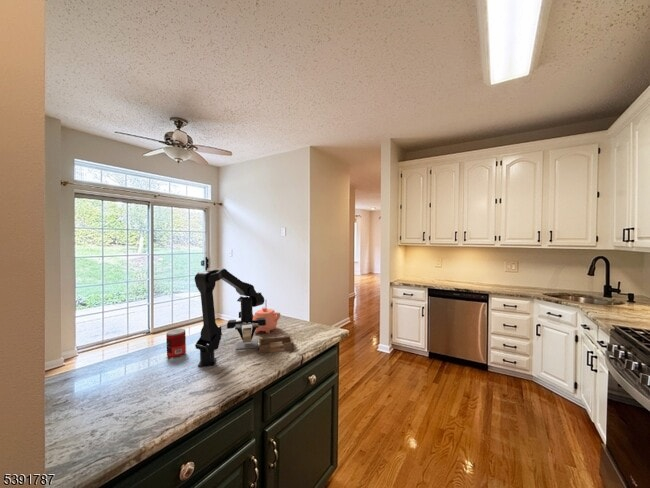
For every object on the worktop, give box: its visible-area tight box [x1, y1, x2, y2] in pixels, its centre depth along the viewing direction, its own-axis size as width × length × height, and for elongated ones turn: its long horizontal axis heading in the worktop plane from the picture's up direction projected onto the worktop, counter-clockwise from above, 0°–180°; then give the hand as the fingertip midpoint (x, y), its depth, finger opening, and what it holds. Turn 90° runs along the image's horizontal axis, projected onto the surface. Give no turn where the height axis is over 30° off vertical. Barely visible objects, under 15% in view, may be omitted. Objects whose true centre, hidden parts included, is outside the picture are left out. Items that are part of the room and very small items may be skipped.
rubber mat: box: [235, 339, 259, 351], centre depth 138 cm, size 10×10×1 cm
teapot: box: [251, 307, 281, 334], centre depth 161 cm, size 16×17×14 cm
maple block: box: [242, 327, 252, 343], centre depth 138 cm, size 4×4×6 cm
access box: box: [258, 335, 295, 355], centre depth 134 cm, size 10×16×4 cm, turn 104°
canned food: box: [165, 328, 187, 359], centre depth 128 cm, size 8×8×11 cm
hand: (247, 339), depth 138 cm, fingers closed on maple block, 4 cm apart
